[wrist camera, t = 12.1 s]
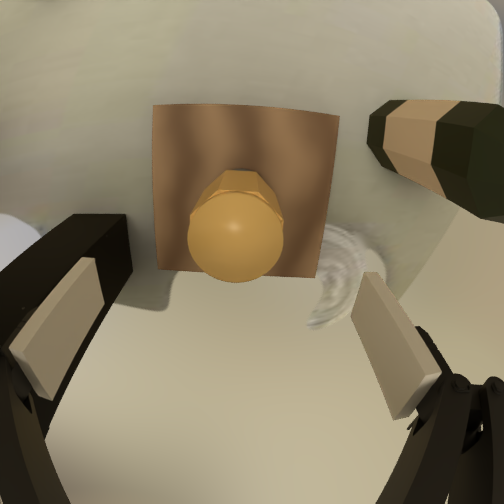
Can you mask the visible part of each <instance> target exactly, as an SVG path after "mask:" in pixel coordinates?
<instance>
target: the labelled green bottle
mask: <svg viewBox="0 0 504 504" xmlns="http://www.w3.org/2000/svg"><path fill="white" fill-rule="evenodd" d="M367 145H368V146H369V148H370V149H371V150H372V152H373V153H374V155H375V156H376V158H377V159H378V161H379V163H380V164H381V166H383V167H385V168H387V169H389V170H391V171H394V172H396V173H398V174H400V175H402V176H404V177H406V178H408V179H410V180H412V181H414V182H416V183H418V184H420V185H422V186H424V187H426V188H428V189H430V190H432V191H433V192H435V193H437V194H439V195H441V196H443V197H445V198H446V199H448V200H450V201H452V202H453V203H455V204H457V205H459V206H460V207H462V208H464V209H465V210H467V211H469V212H470V213H472V214H474V215H475V216H477V217H479V218H480V219H485V220H490V221H495V222H500V223H504V108H503V107H502V106H500V105H498V104H489V103H479V102H467V101H450V100H389V101H388V102H387V103H385V104H384V105H383V106H381V107H380V108H379V109H377V110H376V111H375V112H373V113H372V114H371V115H370V117H369V127H368V136H367Z"/></svg>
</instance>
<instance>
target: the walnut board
mask: <svg viewBox="0 0 504 504" xmlns="http://www.w3.org/2000/svg"><path fill="white" fill-rule="evenodd" d="M339 117H340V116H335V115H329V114H323V113H317V112H309V111H302V110H294V109H285V108H275V107H263V106H249V105H228V104H171V105H153V129H152V175H153V205H154V224H155V239H156V252H157V263H158V269H162V270H177V271H192V272H204V271H203V270H202V269H201V268H200V267H199V266H198V265H197V264H196V262H195V261H194V259H193V258H192V256H191V253H190V251H189V247H188V240H187V237H188V229H189V225H190V214H191V212H192V210H193V209H194V207H195V205H196V203H197V202H198V200H199V198H200V197H201V195H202V193H203V191H204V190H205V189H206V188H207V187H208V186H209V185H210V184H211V183H212V182H213V181H214V180H216V179H217V178H218V177H219V176H220V175H221V174H222V173H223V172H225V171H226V170H232V169H236V168H245V169H249V170H252V171H254V172H257V173H258V174H259V175H260V176H261V177H262V178H263V180H264V181H265V182H266V184H267V185H268V186H269V187H270V188H271V189H272V190H273V191H274V193H275V195H276V198H277V201H278V204H279V207H280V210H281V213H282V216H283V220H284V222H283V248H282V252H281V255H280V257H279V259H278V261H277V262H276V263H275V265H274V266H273V267H272V268H271V269H270V270H269V271H268V272H267V273H265V274H264V275H262V276H280V277H302V278H303V277H304V278H315V275H316V270H317V265H318V260H319V254H320V249H321V243H322V238H323V232H324V226H325V221H326V214H327V208H328V202H329V195H330V189H331V182H332V175H333V168H334V160H335V152H336V144H337V135H338V126H339Z"/></svg>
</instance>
